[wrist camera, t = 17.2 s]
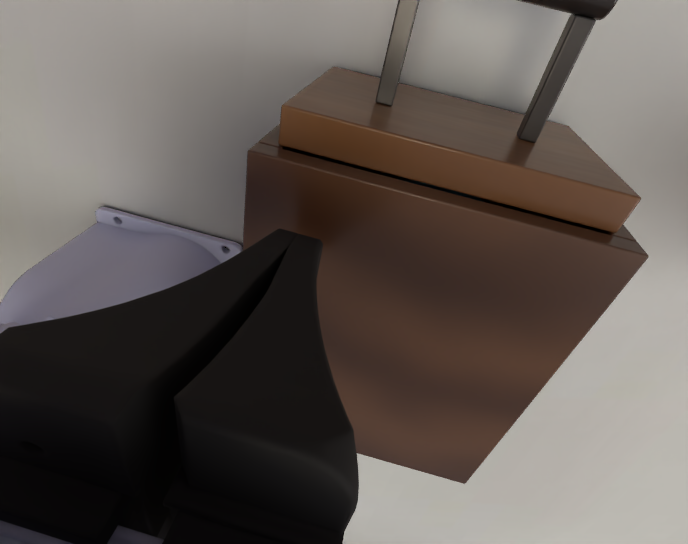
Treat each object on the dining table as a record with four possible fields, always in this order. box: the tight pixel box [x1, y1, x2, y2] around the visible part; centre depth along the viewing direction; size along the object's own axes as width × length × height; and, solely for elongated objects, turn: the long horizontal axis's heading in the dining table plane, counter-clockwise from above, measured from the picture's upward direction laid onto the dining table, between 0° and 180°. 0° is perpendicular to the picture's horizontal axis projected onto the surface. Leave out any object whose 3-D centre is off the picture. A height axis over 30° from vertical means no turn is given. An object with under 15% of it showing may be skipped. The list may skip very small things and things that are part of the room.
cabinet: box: [243, 124, 648, 484], centre depth 19 cm, size 14×12×9 cm
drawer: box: [278, 0, 641, 233], centre depth 16 cm, size 17×10×7 cm, turn 168°
